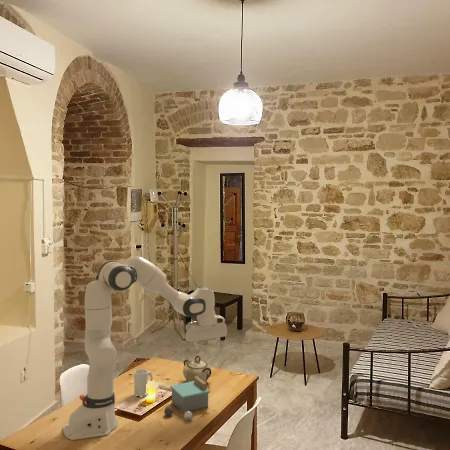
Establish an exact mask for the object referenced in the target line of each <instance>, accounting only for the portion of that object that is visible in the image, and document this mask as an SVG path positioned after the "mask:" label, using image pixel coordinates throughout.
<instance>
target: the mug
mask: <svg viewBox="0 0 450 450" xmlns="http://www.w3.org/2000/svg"><path fill="white" fill-rule="evenodd" d="M148 377H149V378H148ZM133 378H134V379H133V380H134V381H133V384H134V386H133V389H134V391H133V393H134V396H135V395H137V396H145V393H146V384H147V382H148V380H149V379H150V380H149V382H150V381H152V382H153V378H154V377H153V374H152V372H151V371H148V370H147V369H145V368H144V369H143V368H141V369H135V370H134V371H133ZM149 382H148V383H149ZM145 397H146V396H145Z"/></svg>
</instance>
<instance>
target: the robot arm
mask: <svg viewBox="0 0 450 450" xmlns="http://www.w3.org/2000/svg"><path fill="white" fill-rule="evenodd" d="M134 283H136V284H138V285H139V286H141V287H142V288H143V289H145V290H147V291H148V292H151V293H154V294H155V293H157V294H158V295H159V296H160V297H162V298H163V299H165V300H166V301H167V302H168V303H169V305H170V307H171V309H172V310H173V311H174V312H176V313H178V314H181V315H183V316H185V317H188V318H193V317H196V320H195V321H188V323H186V325H185V340H186V341H188V343H192V342H193V344H194V345H195V349H196V351H198V350H200V349H201V345H199V344H198V341H204V340H205V341H206V340H210V339H216V340H215V341H214V342H213V343H214V344H213V345H214V347H215V348H216V347H219V342H220V341H221V338H224V337H227V336H228V327H227V324H226V323H225V322H226V319H225V318H224V317H223V316H221V315H220V314H219V315H218V314H216V311H215V305H216V303H215V302H216V299H215V293H214V290H213V289H212V288H211V287H208V286H202V285H200V286H197V288H196V289H195V290H194V291H193V292H192V293H190V294H188V293H186V292H184V291H179V290H177V289H174V287H172V286H171V285H169V284H168V283H167V275H166V274H165V273H164V271H163V270H162V269H160V267H158V266H157V265H155V264H154V263H153V262H151V261H149V260H148V259H146V258H144V257H142V256H139V255H137V256H133V257H132V258H130V259H129V261H128V262H127V263H126V264H122V263H120V262H117V261H113V260H111V261H109V260H108V261H106V262H104V263H102V265H101V266H100V268H99V270H98V273H97V275H96V277H95V280H93V281H90V282H89V283H88V284H87V285H86V288H85V291H84V292H85V293H84V315H85V316H84V317H85V319H84V320H85V331H84V352H85V354H86V355H87V358H88V361H89V366H88V373H87V377H86V385H87V386H86V390H87V391H86V395H84V394H80V396H78V397H79V400H80V401H82V404H81V405H80V406H78V407H77V408H76V409H74V411H72V412H71V413H70V415H69V418H68V423H65V424H64V425H63V427H62V432H63V435H64V436H65V437H66V438H67V439H68V440H70V441H75V440H83V439H88V438H89V439H90V438H96V437H103V436H108V435H110V433H111V432H112V431H113V430H115V429H116V428H117V426H118V421H117V417H116V413H115V405H116V404H115V403H116V396H115V395H116V394H115V392H114V380H115V379H114V378H115V377H114V374H115V369H116V364H117V363H116V362H117V360H118V354H117V349H116V347H115V345H114V344H113V342H112V340H111V332H112V326H113V312H112V311H113V310H112V309H113V307H112V306H113V305H112V296H113V295H112V294H113V292H114V291H118V292H122V291H126V290H128V289H129V288H130V287H131V286H133V284H134Z"/></svg>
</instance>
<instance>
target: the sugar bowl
mask: <svg viewBox="0 0 450 450" xmlns="http://www.w3.org/2000/svg"><path fill="white" fill-rule="evenodd" d="M197 358H198V359H197ZM183 365H184V367H183V370H182V374H183V376H184V379H185V380H186V381H187V382H192V381H194V377H196V376H197V377H199V378H200V379H201V380H203V381H204V382H205V383H206V382H207V381H208V380H209V378H210V377H211V375H212V368H211V367H210V365H209V364H208V363H207V362H206V361H203V360H201V356H200V355H196V356H195V357H194V360H189V359H184V361H183Z"/></svg>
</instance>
